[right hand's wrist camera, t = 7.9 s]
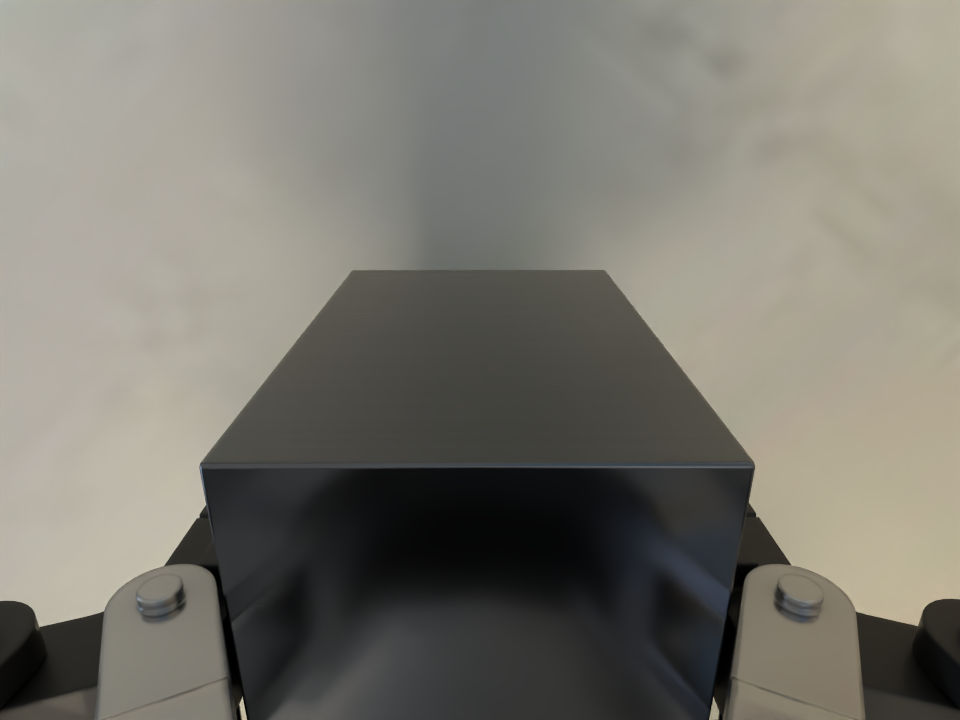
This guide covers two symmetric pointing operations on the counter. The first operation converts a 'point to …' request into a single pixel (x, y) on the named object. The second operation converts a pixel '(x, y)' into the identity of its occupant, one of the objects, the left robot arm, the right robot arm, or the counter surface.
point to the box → (477, 509)
